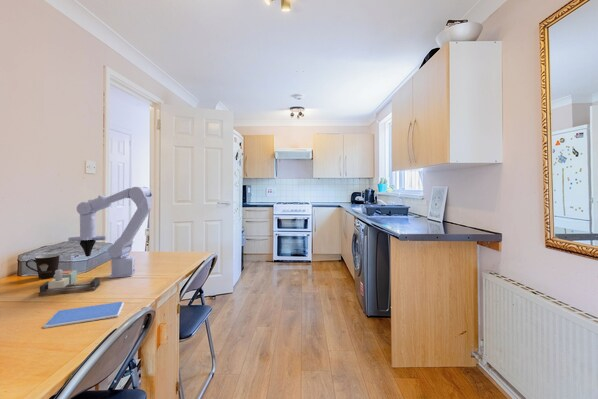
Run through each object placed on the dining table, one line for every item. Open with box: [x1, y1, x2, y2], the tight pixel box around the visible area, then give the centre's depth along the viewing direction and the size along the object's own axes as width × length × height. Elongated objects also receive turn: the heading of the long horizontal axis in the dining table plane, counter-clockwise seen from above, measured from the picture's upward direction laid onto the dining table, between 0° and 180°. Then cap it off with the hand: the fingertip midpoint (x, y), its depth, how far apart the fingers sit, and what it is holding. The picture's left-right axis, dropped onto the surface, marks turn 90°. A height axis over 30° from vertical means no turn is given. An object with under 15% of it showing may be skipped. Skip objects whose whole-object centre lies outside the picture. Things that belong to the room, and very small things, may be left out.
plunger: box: [62, 270, 73, 274], centre depth 121 cm, size 3×3×4 cm
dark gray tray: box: [37, 276, 101, 297], centre depth 115 cm, size 18×8×4 cm, turn 111°
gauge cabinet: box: [53, 270, 78, 285], centre depth 121 cm, size 6×6×5 cm
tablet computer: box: [42, 301, 125, 329], centre depth 93 cm, size 19×13×1 cm, turn 114°
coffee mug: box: [25, 253, 61, 280], centre depth 131 cm, size 12×9×10 cm
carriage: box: [48, 269, 69, 289], centre depth 113 cm, size 5×5×6 cm
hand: (88, 256), depth 133 cm, fingers closed
